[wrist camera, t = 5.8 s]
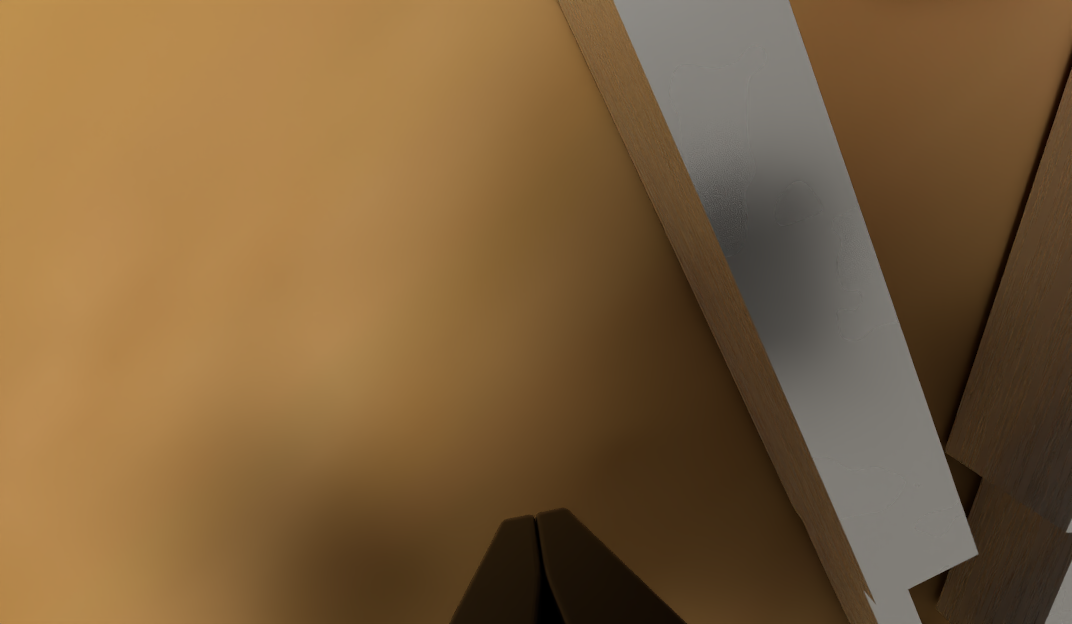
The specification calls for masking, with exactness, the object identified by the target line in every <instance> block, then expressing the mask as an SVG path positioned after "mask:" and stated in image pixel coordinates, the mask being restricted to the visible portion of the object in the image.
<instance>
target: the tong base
mask: <svg viewBox="0 0 1072 624" xmlns="http://www.w3.org/2000/svg"><path fill="white" fill-rule="evenodd" d="M944 452H946V453H947V454H949V455H950V456H952V457H953V458H955V459H956V460H958V461H959V462H961V463H962V464H964V465H965V466H967V467H968V468H970V469H971V470H973V471H974V472H976V473H977V474H979V475H980V476H982V480H981V483H980V486H979V489H978V491H977V494H976V497H975V500H974V503H973V505H972V508H971V511H970V514H969V517H968V519H967V522H968V525H969V528H970V531H971V534H972V536H973V539H974V542H975V545H976V548H977V551H978V555H976V556H974V557H972V558H970V559H968V560H966V561H964V562H962V563H960V564H958V565H956V566H954V567H952V568H950V570H949V572H948V575H947V578H946V581H945V584H944V586H943V589H942V592H941V595H940V598H939V600H938V603H937V606H936V609H937V610H938V611H939V612H940V613H941V614H942V615H943V616H944V617H945V618H946V619H947V620H948V621H949V623H950V624H1072V69H1071V72H1070V75H1069V78H1068V81H1067V84H1066V87H1065V90H1064V93H1063V96H1062V99H1061V102H1060V105H1059V108H1058V111H1057V114H1056V117H1055V120H1054V123H1053V126H1052V129H1051V132H1050V135H1049V138H1048V141H1047V144H1046V147H1045V150H1044V153H1043V156H1042V159H1041V162H1040V165H1039V168H1038V171H1037V174H1036V177H1035V180H1034V183H1033V186H1032V189H1031V192H1030V195H1029V198H1028V201H1027V204H1026V207H1025V210H1024V213H1023V216H1022V219H1021V222H1020V225H1019V228H1018V231H1017V234H1016V237H1015V240H1014V243H1013V246H1012V249H1011V252H1010V255H1009V259H1008V262H1007V265H1006V268H1005V271H1004V274H1003V277H1002V280H1001V283H1000V286H999V289H998V292H997V295H996V298H995V301H994V304H993V307H992V310H991V313H990V316H989V319H988V322H987V325H986V328H985V331H984V334H983V337H982V340H981V343H980V346H979V349H978V352H977V355H976V358H975V361H974V364H973V367H972V370H971V373H970V376H969V379H968V382H967V385H966V388H965V391H964V394H963V397H962V400H961V403H960V406H959V409H958V412H957V415H956V418H955V421H954V424H953V427H952V430H951V433H950V436H949V439H948V442H947V445H946V448H945V451H944Z"/></svg>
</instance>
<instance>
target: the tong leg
mask: <svg viewBox="0 0 1072 624" xmlns="http://www.w3.org/2000/svg"><path fill="white" fill-rule="evenodd" d="M558 2H559V4H560V7H561V9H562V11H563V13H564V15H565V17H566V19H567V22H568V24H569V26H570V28H571V30H572V32H573V35H574V37H575V39H576V41H577V43H578V45H579V47H580V50H581V52H582V54H583V56H584V58H585V60H586V63H587V65H588V67H589V69H590V71H591V73H592V75H593V78H594V80H595V82H596V84H597V86H598V88H599V90H600V93H601V95H602V97H603V99H604V101H605V103H606V106H607V108H608V110H609V112H610V114H611V116H612V118H613V121H614V123H615V125H616V127H617V129H618V131H619V134H620V136H621V138H622V140H623V142H624V144H625V146H626V149H627V151H628V153H629V155H630V157H631V159H632V162H633V164H634V166H635V168H636V170H637V172H638V174H639V177H640V179H641V181H642V183H643V185H644V187H645V190H646V192H647V194H648V196H649V198H650V200H651V202H652V205H653V207H654V209H655V211H656V213H657V215H658V218H659V220H660V222H661V224H662V226H663V228H664V230H665V233H666V235H667V237H668V239H669V241H670V243H671V246H672V248H673V250H674V252H675V254H676V256H677V258H678V261H679V263H680V265H681V267H682V269H683V271H684V274H685V276H686V278H687V280H688V282H689V284H690V286H691V289H692V291H693V293H694V295H695V297H696V299H697V302H698V304H699V306H700V308H701V310H702V312H703V314H704V317H705V319H706V321H707V323H708V325H709V327H710V330H711V332H712V334H713V336H714V338H715V340H716V342H717V345H718V347H719V349H720V351H721V353H722V355H723V358H724V360H725V362H726V364H727V366H728V368H729V370H730V373H731V375H732V377H733V379H734V381H735V383H736V386H737V388H738V390H739V392H740V394H741V396H742V398H743V401H744V403H745V405H746V407H747V409H748V411H749V414H750V416H751V418H752V420H753V422H754V424H755V426H756V429H757V431H758V433H759V435H760V437H761V439H762V442H763V444H764V446H765V448H766V450H767V452H768V454H769V457H770V459H771V461H772V463H773V465H774V467H775V470H776V472H777V474H778V476H779V478H780V480H781V482H782V485H783V487H784V489H785V491H786V493H787V495H788V498H789V500H790V502H791V504H792V506H793V508H794V510H795V511H796V512H797V514H798V515H799V516H800V517H801V520H802V522H803V524H804V526H805V528H806V530H807V533H808V535H809V537H810V539H811V541H812V543H813V546H814V548H815V550H816V552H817V554H818V556H819V559H820V561H821V563H822V565H823V567H824V569H825V572H826V574H827V576H828V578H829V580H830V582H831V585H832V587H833V589H834V591H835V593H836V595H837V598H838V600H839V602H840V604H841V606H842V608H843V610H844V613H845V615H846V617H847V619H848V621H849V623H850V624H922V623H921V620H920V618H919V615H918V613H917V611H916V608H915V606H914V603H913V601H912V598H911V596H910V593H909V591H908V589H910V588H912V587H914V586H916V585H918V584H920V583H922V582H924V581H926V580H928V579H930V578H932V577H934V576H936V575H938V574H940V573H942V572H944V571H946V570H948V569H950V568H952V567H954V566H956V565H958V564H960V563H962V562H964V561H966V560H968V559H970V558H972V557H974V556H976V555H978V551H977V548H976V545H975V542H974V539H973V536H972V534H971V531H970V528H969V525H968V522H967V519H966V516H965V513H964V510H963V507H962V504H961V501H960V498H959V496H958V493H957V490H956V487H955V484H954V481H953V478H952V475H951V472H950V469H949V466H948V463H947V461H946V458H945V455H944V452H943V449H942V446H941V443H940V440H939V437H938V434H937V431H936V428H935V426H934V423H933V420H932V417H931V414H930V411H929V408H928V405H927V402H926V399H925V396H924V393H923V391H922V388H921V385H920V382H919V379H918V376H917V373H916V370H915V367H914V364H913V361H912V358H911V355H910V353H909V350H908V347H907V344H906V341H905V338H904V335H903V332H902V329H901V326H900V323H899V320H898V318H897V315H896V312H895V309H894V306H893V303H892V300H891V297H890V294H889V291H888V288H887V285H886V283H885V280H884V277H883V274H882V271H881V268H880V265H879V262H878V259H877V256H876V253H875V250H874V248H873V245H872V242H871V239H870V236H869V233H868V230H867V227H866V224H865V221H864V218H863V215H862V212H861V210H860V207H859V204H858V201H857V198H856V195H855V192H854V189H853V186H852V183H851V180H850V177H849V175H848V172H847V169H846V166H845V163H844V160H843V157H842V154H841V151H840V148H839V145H838V142H837V140H836V137H835V134H834V131H833V128H832V125H831V122H830V119H829V116H828V113H827V110H826V107H825V105H824V102H823V99H822V96H821V93H820V90H819V87H818V84H817V81H816V78H815V75H814V72H813V69H812V67H811V64H810V61H809V58H808V55H807V52H806V49H805V46H804V43H803V40H802V37H801V34H800V32H799V29H798V26H797V23H796V20H795V17H794V14H793V11H792V8H791V5H790V2H789V0H558Z"/></svg>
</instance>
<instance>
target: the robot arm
mask: <svg viewBox="0 0 1072 624" xmlns="http://www.w3.org/2000/svg"><path fill="white" fill-rule="evenodd" d="M449 624H687V623H686V622H685V621H684V620H683V619H682V618H680V617H679V616H678V615H677V614H676V613H675V612H674V611H673V610H672V609H671V608H670V607H669V606H668V605H667V604H666V603H665V602H664V601H663V600H662V599H661V598H660V597H659V596H658V595H657V594H655V593H654V592H653V591H652V590H651V589H650V588H649V587H648V586H647V585H646V584H645V583H644V582H643V581H642V580H641V579H640V578H639V577H638V576H637V575H636V574H635V573H634V572H633V571H631V570H630V569H629V568H628V567H627V566H626V565H625V564H624V563H623V562H622V561H621V560H620V559H619V558H618V557H617V556H616V555H615V554H614V553H613V552H612V551H611V550H610V549H609V548H607V547H606V546H605V545H604V544H603V543H602V542H601V541H600V540H599V539H598V538H597V537H596V536H595V535H594V534H593V533H592V532H591V531H590V530H589V529H588V528H587V527H586V526H585V525H583V524H582V523H581V522H580V521H579V520H578V519H577V518H576V517H575V516H574V515H573V514H572V513H571V512H570V511H569V510H568V509H566V508H559V509H554V510H549V511H545V512H540V513H538V514H537V515H536V521H535V518H534V517H533V516H532V515H525V516H520V517H515V518H510V519H506V520H504V521H503V522H502V523H501V525H500V527H499V528H498V530H497V532H496V534H495V536H494V538H493V540H492V542H491V544H490V546H489V548H488V550H487V552H486V554H485V555H484V557H483V559H482V561H481V563H480V565H479V567H478V569H477V571H476V573H475V575H474V577H473V579H472V580H471V582H470V584H469V586H468V588H467V590H466V592H465V594H464V596H463V598H462V600H461V602H460V604H459V606H458V607H457V609H456V611H455V613H454V615H453V617H452V619H451V621H450V623H449Z"/></svg>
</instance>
